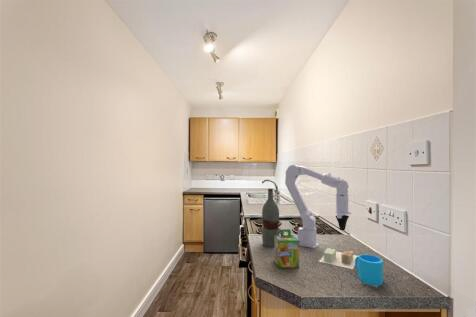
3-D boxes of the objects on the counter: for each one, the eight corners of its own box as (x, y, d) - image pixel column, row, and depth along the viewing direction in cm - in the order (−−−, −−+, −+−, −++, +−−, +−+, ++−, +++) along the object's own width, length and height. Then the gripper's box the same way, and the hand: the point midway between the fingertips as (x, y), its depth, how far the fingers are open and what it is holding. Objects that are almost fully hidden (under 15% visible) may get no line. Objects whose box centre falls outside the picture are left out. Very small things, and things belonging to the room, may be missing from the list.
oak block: (344, 257, 113) (341, 262, 108) (344, 249, 113) (341, 254, 108) (353, 259, 111) (350, 264, 105) (353, 251, 111) (350, 256, 106)
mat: (318, 262, 109) (318, 261, 109) (328, 251, 123) (328, 250, 123) (353, 270, 101) (353, 269, 101) (359, 257, 115) (359, 255, 115)
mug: (388, 284, 90) (388, 261, 90) (370, 287, 88) (369, 264, 88) (363, 270, 101) (363, 250, 102) (347, 272, 99) (346, 252, 100)
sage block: (327, 255, 116) (323, 260, 110) (327, 248, 116) (323, 252, 110) (335, 257, 114) (332, 262, 108) (335, 249, 114) (332, 254, 108)
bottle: (260, 246, 130) (260, 189, 130) (263, 241, 139) (263, 187, 139) (278, 247, 128) (278, 190, 128) (280, 242, 136) (279, 188, 137)
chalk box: (278, 268, 103) (277, 233, 103) (273, 259, 112) (273, 227, 112) (299, 268, 104) (299, 232, 104) (293, 259, 113) (293, 227, 113)
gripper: (347, 206, 117) (348, 234, 117) (353, 201, 129) (353, 227, 129) (332, 204, 121) (332, 232, 121) (339, 200, 133) (339, 225, 133)
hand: (342, 229), depth 125 cm, fingers closed
